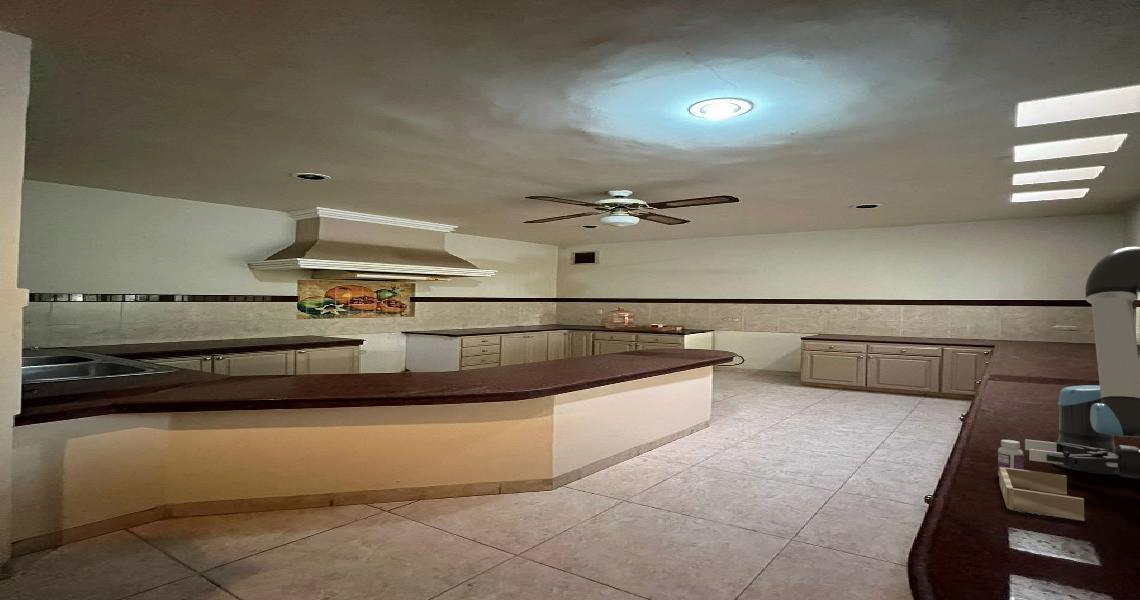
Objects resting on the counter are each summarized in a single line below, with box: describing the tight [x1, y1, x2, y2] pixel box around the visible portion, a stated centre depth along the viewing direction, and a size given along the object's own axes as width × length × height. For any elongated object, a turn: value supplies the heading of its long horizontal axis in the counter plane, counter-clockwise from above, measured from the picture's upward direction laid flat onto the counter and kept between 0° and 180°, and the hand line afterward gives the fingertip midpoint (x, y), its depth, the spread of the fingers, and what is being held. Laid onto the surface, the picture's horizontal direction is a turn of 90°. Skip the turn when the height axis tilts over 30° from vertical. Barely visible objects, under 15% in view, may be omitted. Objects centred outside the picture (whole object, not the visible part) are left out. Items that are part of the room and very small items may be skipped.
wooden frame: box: [998, 467, 1085, 522], centre depth 133 cm, size 22×13×4 cm, turn 146°
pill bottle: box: [997, 439, 1025, 476], centre depth 152 cm, size 5×5×10 cm
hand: (1026, 449), depth 150 cm, fingers open, 13 cm apart
